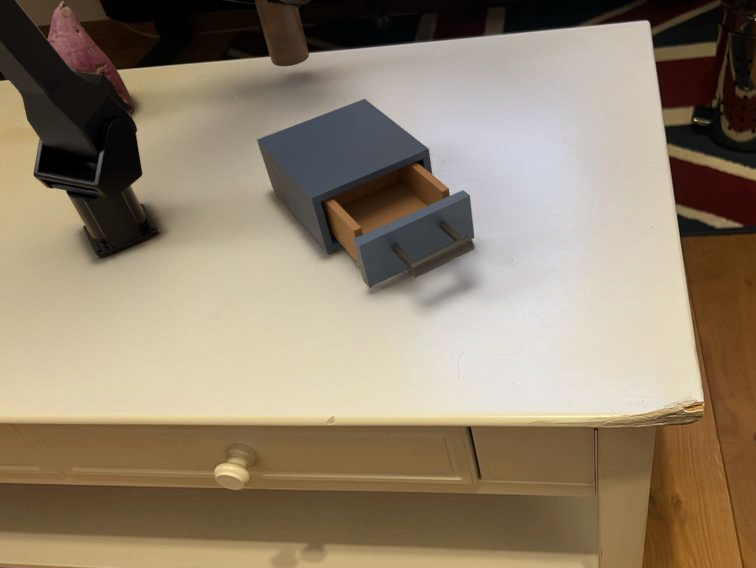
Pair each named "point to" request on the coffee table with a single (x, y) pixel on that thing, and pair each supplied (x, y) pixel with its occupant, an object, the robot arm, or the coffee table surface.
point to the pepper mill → (282, 33)
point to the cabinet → (335, 160)
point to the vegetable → (82, 50)
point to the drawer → (401, 224)
